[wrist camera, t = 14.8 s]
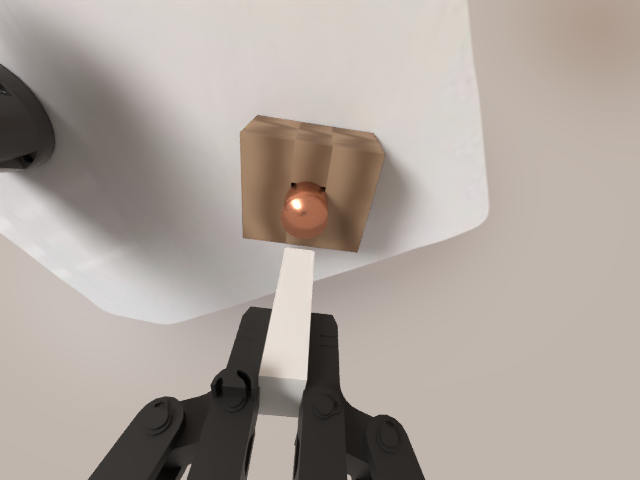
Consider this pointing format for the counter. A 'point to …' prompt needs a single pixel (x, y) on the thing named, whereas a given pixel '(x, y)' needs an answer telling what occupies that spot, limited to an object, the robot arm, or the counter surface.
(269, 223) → the hitch block
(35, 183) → the counter surface
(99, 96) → the counter surface
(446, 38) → the counter surface
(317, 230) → the copper cylinder with shaft
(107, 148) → the counter surface
